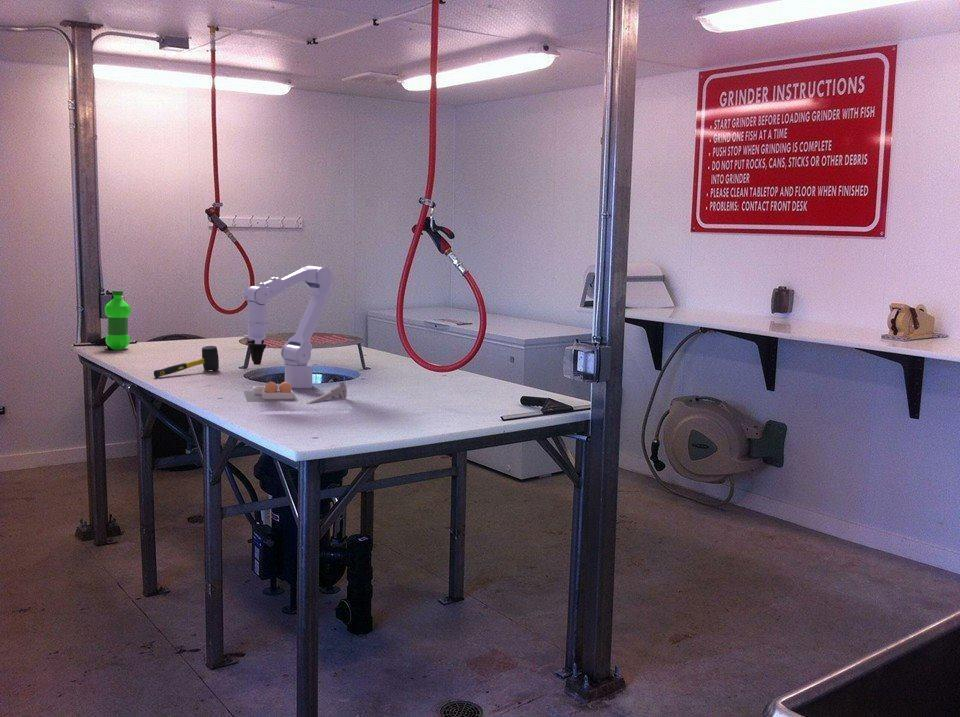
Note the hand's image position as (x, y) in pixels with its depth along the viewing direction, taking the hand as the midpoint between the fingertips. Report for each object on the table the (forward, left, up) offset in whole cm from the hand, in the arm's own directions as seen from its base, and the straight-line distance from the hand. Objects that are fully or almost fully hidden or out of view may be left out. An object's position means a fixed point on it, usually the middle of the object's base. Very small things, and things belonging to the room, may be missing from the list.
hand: (256, 362), depth 295 cm
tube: (-1, +5, -9) cm, 11 cm away
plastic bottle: (+50, -106, -11) cm, 118 cm away
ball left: (-8, +13, -6) cm, 17 cm away
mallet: (+22, -40, -11) cm, 47 cm away
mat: (-4, +10, -10) cm, 15 cm away
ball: (-4, +13, -6) cm, 15 cm away
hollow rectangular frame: (-6, +13, -9) cm, 17 cm away
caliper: (-21, +17, -11) cm, 29 cm away
